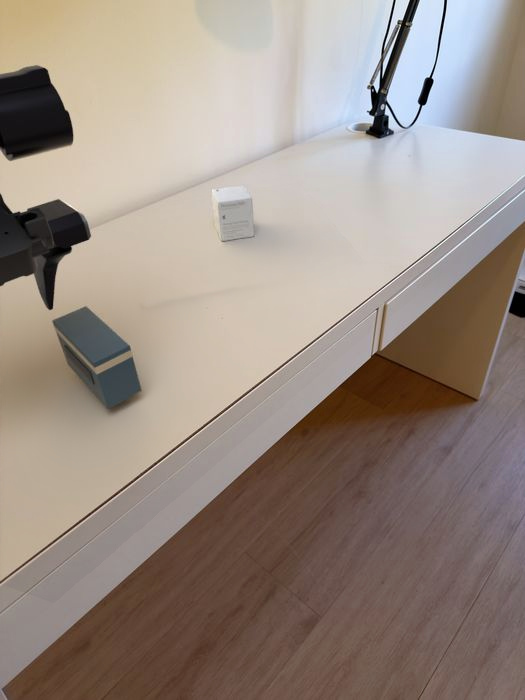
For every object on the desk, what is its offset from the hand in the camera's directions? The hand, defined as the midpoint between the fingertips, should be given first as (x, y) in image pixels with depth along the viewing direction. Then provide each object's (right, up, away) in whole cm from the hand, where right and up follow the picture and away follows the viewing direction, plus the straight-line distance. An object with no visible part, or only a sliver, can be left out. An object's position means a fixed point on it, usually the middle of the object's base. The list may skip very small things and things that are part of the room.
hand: (15, 322), depth 55 cm
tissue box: (+6, -4, +9) cm, 11 cm away
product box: (+21, +18, +40) cm, 49 cm away
